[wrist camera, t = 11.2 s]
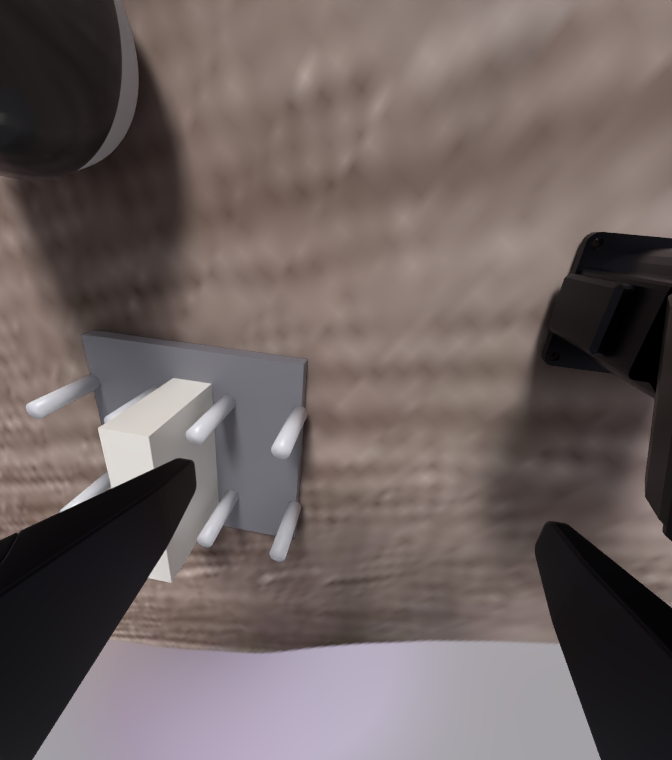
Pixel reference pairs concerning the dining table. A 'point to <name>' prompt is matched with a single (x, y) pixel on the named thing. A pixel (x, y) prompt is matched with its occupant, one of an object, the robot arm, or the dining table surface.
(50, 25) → the pump dispenser
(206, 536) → the rack
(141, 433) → the tile
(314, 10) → the dining table surface
